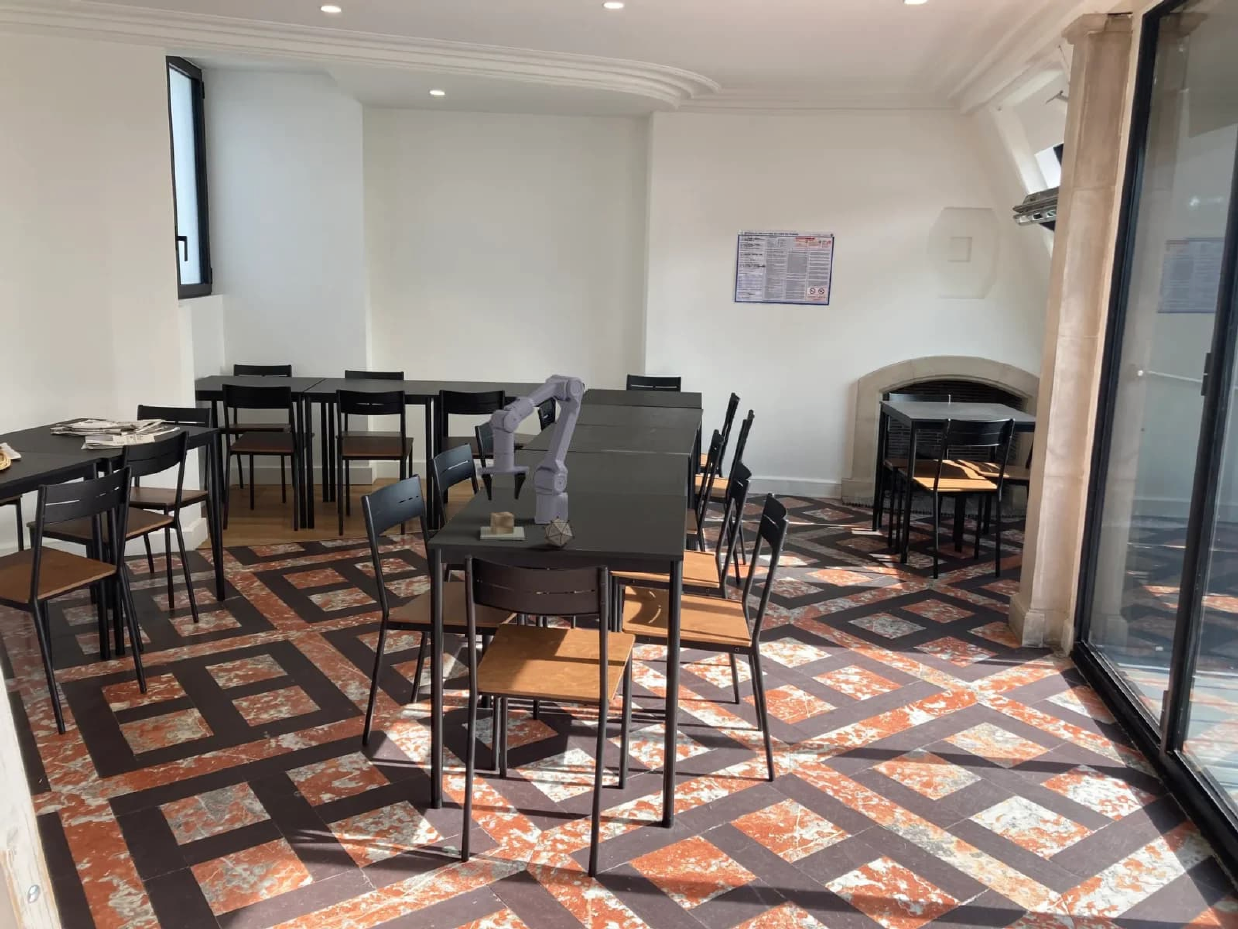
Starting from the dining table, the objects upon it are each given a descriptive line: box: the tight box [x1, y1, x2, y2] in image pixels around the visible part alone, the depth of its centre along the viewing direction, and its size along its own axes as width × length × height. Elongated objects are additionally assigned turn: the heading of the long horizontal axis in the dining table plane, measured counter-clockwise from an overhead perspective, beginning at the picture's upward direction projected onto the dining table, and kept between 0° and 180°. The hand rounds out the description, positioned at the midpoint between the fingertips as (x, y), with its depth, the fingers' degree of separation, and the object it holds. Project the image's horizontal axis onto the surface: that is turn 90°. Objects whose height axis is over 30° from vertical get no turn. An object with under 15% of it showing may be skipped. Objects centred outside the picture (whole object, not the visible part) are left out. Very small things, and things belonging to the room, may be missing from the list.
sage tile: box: [480, 526, 525, 541], centre depth 266 cm, size 12×11×1 cm
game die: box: [541, 516, 576, 550], centre depth 256 cm, size 9×8×10 cm
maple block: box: [490, 511, 515, 535], centre depth 266 cm, size 5×5×5 cm
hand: (503, 499), depth 269 cm, fingers open, 7 cm apart
